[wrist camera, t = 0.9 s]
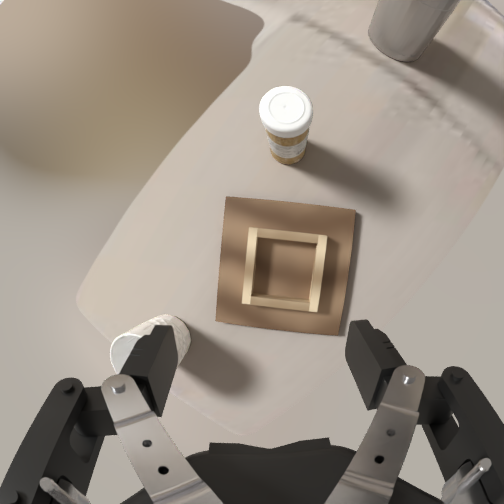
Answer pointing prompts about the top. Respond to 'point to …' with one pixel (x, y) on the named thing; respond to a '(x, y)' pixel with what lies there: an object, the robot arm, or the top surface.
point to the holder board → (284, 265)
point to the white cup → (128, 339)
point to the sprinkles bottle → (286, 122)
